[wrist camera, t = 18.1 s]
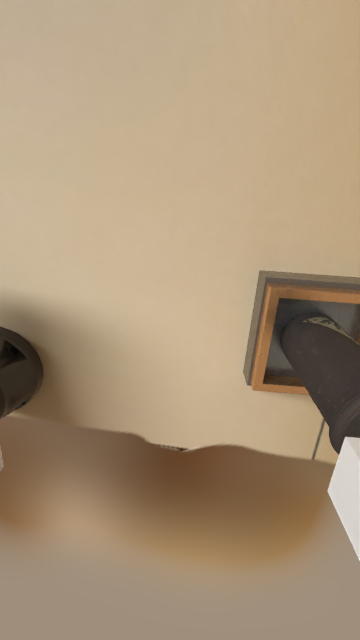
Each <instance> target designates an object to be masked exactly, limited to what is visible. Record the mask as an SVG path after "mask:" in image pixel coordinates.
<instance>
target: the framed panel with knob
mask: <svg viewBox="0 0 360 640" xmlns="http://www.w3.org/2000/svg"><path fill="white" fill-rule="evenodd" d="M311 313H317V314H323V315H325V316H328V317H330V318H331V319H333V320H334V321H335V322H336V323H337V324H338V325H340V326H341V327H342V328H343V329H344V330H345V331H346V332H347V333H348V334H349V335H350V336H351V337H352V338H353V339H354V340H355V341H356V342H358V343H359V344H360V278H355V277H342V276H328V275H314V274H301V273H287V272H274V271H259V278H258V284H257V290H256V296H255V302H254V309H253V315H252V321H251V327H250V333H249V339H248V346H247V352H246V358H245V364H244V370H243V373H244V376H245V379H246V383H247V385H250V386H252V389H253V390H255V391H268V392H282V393H295V394H308V395H309V393H308V391H307V390H306V388H305V386H304V385H303V383H302V382H301V380H300V379H299V377H298V375H297V374H296V372H295V371H294V369H293V368H292V366H291V365H290V363H289V361H288V360H287V358H286V357H285V355H284V353H283V351H282V349H281V345H280V339H281V335H282V332H283V330H284V329H285V327H286V326H287V325H288V324H289V323H290V322H291V321H292V320H293V319H295V318H297V317H299V316H301V315H305V314H311Z"/></svg>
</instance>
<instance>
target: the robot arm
mask: <svg viewBox="0 0 360 640" xmlns="http://www.w3.org/2000/svg"><path fill="white" fill-rule="evenodd" d="M42 378H43V369H42V364H41V361H40V359H39V357H38V355H37V353H36V352H35V350H34V349H33V347H32V346H31V345H30V344H29V343H28V342H27V341H26V340H25V339H23V338H22V337H21V336H19V335H18V334H16V333H14V332H12V331H10V330H8V329H5V328H2V327H0V419H1V418H2V417H4V416H6V415H8V414H10V413H11V412H13V411H14V410H17V409H19V408H20V407H22V406H24V405H25V404H26V403H28V402H29V401H30V400H31V399H32V397H33V396H34V395H35V394H36V392H37V391H38V389H39V388H40V386H41V383H42ZM3 466H4V465H3V459H2V453H1V448H0V471H1V469H2V468H3ZM328 493H329V496H330V498H331V500H332V502H333V504H334V506H335V508H336V511H337V513H338V515H339V517H340V519H341V522H342V524H343V526H344V528H345V530H346V533H347V535H348V537H349V539H350V541H351V543H352V545H353V548H354V550H355V552H356V554H357V556H358V558H359V561H360V438H354V437H345V439H344V442H343V445H342V448H341V451H340V454H339V457H338V460H337V463H336V466H335V469H334V472H333V475H332V478H331V482H330V485H329V488H328Z"/></svg>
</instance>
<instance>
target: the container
mask: <svg viewBox="0 0 360 640" xmlns="http://www.w3.org/2000/svg"><path fill="white" fill-rule="evenodd" d="M280 345H281V349H282V351H283V353H284V355H285V357H286V358H287V360H288V361H289V363H290V365H291V366H292V368H293V369H294V371H295V372H296V374H297V375H298V377H299V379H300V380H301V382H302V383H303V385H304V386H305V388H306V390H307V391H308V393H309V395H310V396H311V398H312V399H313V401H314V403H315V404H316V406H317V407H318V409H319V410H320V412H321V414H322V416H323V417H324V419H325V421H326V422H327V424H328V426H329V438H330V442H331V444H332V447H333V448H334V450H335V451H336V452H337V453H338V454H340V451H341V448H342V445H343V442H344V439H345V437H354V438H360V344H359V343H358V342H356V341H355V340H354V339H353V338H352V337H351V336H350V335H349V334H348V333H347V332H346V331H345V330H344V329H343V328H342V327H341V326H340V325H338V324H337V323H336V322H335V321H334V320H333V319H331V318H330V317H328V316H325V315H323V314H317V313H311V314H305V315H301V316H299V317H297V318H295V319H293V320H292V321H291V322H290V323H289V324H288V325H287V326H286V327H285V329H284V330H283V332H282V335H281V339H280Z"/></svg>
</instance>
